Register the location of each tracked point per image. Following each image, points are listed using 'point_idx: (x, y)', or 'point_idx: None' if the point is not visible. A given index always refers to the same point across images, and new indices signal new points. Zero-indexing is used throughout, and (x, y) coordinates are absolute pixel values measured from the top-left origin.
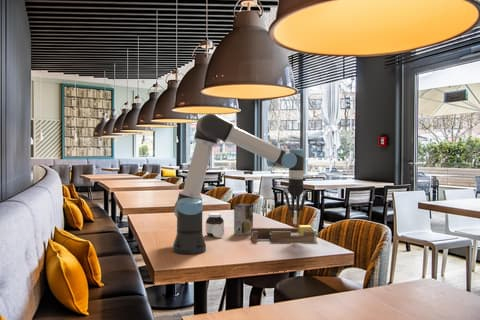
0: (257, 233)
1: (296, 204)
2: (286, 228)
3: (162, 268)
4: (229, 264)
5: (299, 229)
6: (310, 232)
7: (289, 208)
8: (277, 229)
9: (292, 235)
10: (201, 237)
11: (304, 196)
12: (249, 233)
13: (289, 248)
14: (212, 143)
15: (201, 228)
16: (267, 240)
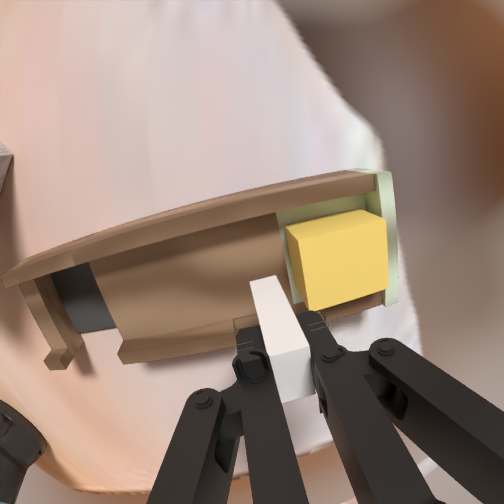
0: (68, 364)
1: (341, 438)
2: (191, 232)
3: (69, 486)
4: (139, 491)
5: (297, 268)
6: (359, 309)
7: (222, 444)
8: (127, 247)
9: (245, 316)
10: (29, 459)
11: (493, 496)
12: (3, 180)
13: None
14: None
15: (19, 472)
16: (115, 325)
